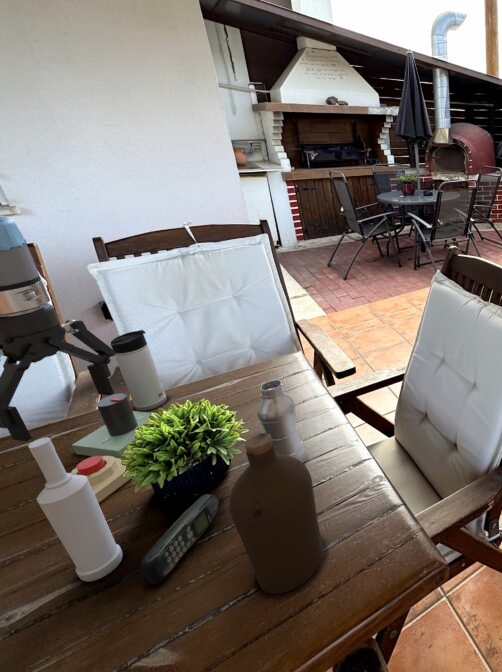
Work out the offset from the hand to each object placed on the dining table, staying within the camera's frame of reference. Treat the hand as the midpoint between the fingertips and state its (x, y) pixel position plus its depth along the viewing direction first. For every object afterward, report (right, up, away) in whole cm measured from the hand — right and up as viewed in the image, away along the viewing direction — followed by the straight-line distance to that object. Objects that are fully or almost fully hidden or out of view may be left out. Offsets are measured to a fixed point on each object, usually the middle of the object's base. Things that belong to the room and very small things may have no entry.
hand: (68, 414), depth 74 cm
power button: (0, -12, +4) cm, 13 cm away
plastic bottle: (+36, -14, +10) cm, 40 cm away
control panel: (-6, -11, +18) cm, 22 cm away
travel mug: (-11, -7, +30) cm, 33 cm away
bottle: (+17, -22, -10) cm, 29 cm away
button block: (0, -16, +6) cm, 17 cm away
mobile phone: (+28, -20, -6) cm, 35 cm away
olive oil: (+47, -21, -10) cm, 53 cm away
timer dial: (-6, -9, +17) cm, 20 cm away
